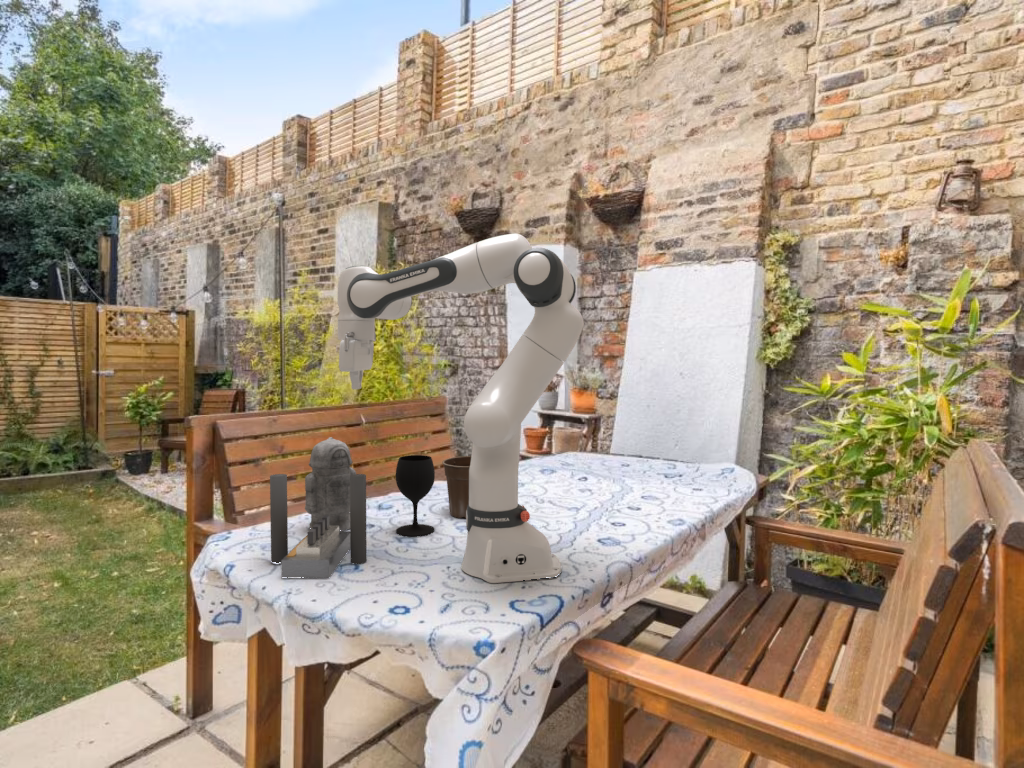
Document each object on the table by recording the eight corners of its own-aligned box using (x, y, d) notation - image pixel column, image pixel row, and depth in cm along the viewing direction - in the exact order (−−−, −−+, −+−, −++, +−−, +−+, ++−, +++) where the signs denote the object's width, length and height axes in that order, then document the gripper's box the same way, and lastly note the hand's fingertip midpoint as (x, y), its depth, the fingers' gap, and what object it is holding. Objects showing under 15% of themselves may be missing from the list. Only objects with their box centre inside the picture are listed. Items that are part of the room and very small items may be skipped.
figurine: (299, 530, 157) (298, 438, 156) (345, 519, 168) (344, 433, 167) (318, 537, 151) (317, 442, 150) (364, 525, 162) (364, 436, 160)
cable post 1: (290, 559, 135) (289, 474, 134) (284, 564, 132) (283, 477, 131) (274, 559, 135) (273, 473, 134) (268, 564, 132) (267, 477, 131)
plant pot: (462, 525, 164) (462, 468, 163) (432, 512, 176) (432, 459, 175) (507, 515, 174) (507, 461, 173) (475, 504, 186) (475, 454, 185)
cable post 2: (368, 558, 136) (367, 473, 135) (364, 564, 132) (364, 477, 132) (352, 558, 136) (351, 474, 135) (348, 564, 132) (348, 477, 131)
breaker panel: (351, 547, 144) (351, 523, 144) (329, 578, 124) (328, 550, 124) (310, 547, 144) (310, 523, 143) (281, 578, 124) (281, 550, 123)
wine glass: (440, 527, 161) (440, 455, 160) (425, 538, 151) (425, 462, 150) (406, 524, 164) (406, 453, 163) (388, 535, 154) (388, 460, 153)
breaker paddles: (329, 526, 140) (329, 515, 140) (313, 544, 127) (312, 531, 127) (324, 526, 140) (324, 515, 140) (307, 544, 127) (307, 531, 127)
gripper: (359, 331, 133) (359, 392, 134) (377, 334, 153) (377, 386, 154) (331, 331, 133) (332, 391, 133) (353, 334, 153) (353, 386, 154)
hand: (356, 389), depth 144 cm, fingers closed
